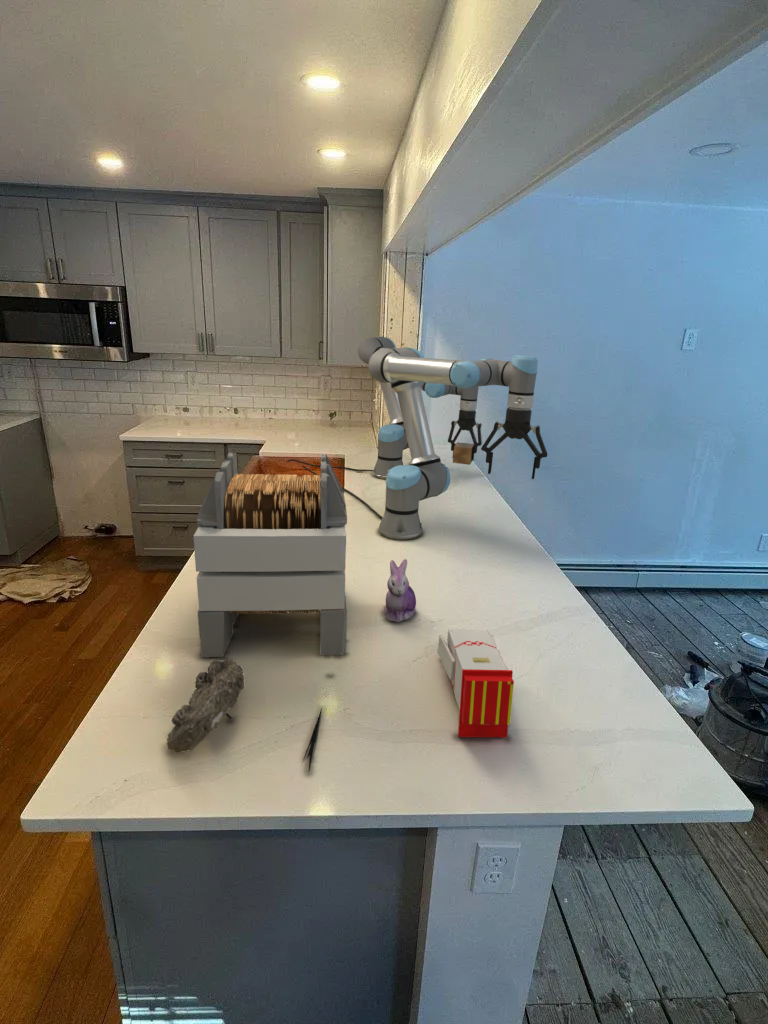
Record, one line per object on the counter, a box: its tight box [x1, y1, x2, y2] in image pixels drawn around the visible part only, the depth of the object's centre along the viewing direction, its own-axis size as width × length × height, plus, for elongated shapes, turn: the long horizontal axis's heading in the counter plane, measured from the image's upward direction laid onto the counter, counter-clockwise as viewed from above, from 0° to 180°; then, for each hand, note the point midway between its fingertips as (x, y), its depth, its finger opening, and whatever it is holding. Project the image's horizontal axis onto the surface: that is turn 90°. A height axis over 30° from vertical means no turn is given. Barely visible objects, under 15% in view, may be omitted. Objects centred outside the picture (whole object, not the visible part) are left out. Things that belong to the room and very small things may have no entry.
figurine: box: [384, 558, 417, 623], centre depth 145 cm, size 9×10×15 cm
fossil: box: [166, 658, 245, 754], centre depth 106 cm, size 22×10×15 cm
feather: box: [301, 673, 332, 771], centre depth 108 cm, size 2×28×2 cm
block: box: [452, 441, 474, 465], centre depth 262 cm, size 8×9×8 cm
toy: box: [437, 628, 515, 738], centre depth 117 cm, size 12×13×30 cm
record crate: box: [193, 452, 348, 659], centre depth 136 cm, size 34×33×41 cm
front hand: (510, 475), depth 180 cm, fingers open, 13 cm apart
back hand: (463, 458), depth 262 cm, fingers closed on block, 8 cm apart
